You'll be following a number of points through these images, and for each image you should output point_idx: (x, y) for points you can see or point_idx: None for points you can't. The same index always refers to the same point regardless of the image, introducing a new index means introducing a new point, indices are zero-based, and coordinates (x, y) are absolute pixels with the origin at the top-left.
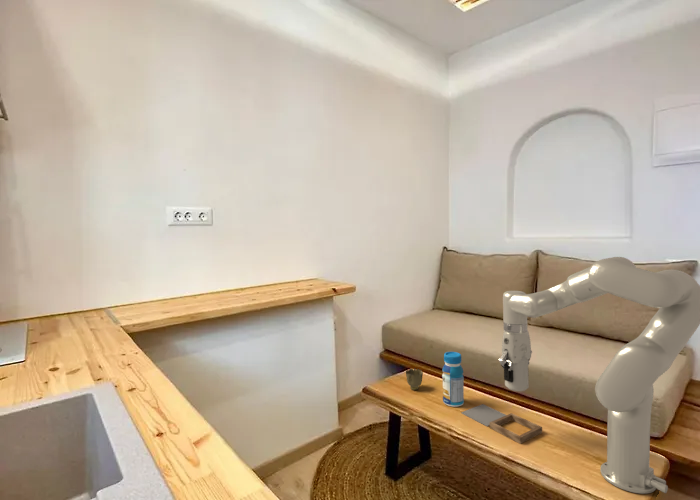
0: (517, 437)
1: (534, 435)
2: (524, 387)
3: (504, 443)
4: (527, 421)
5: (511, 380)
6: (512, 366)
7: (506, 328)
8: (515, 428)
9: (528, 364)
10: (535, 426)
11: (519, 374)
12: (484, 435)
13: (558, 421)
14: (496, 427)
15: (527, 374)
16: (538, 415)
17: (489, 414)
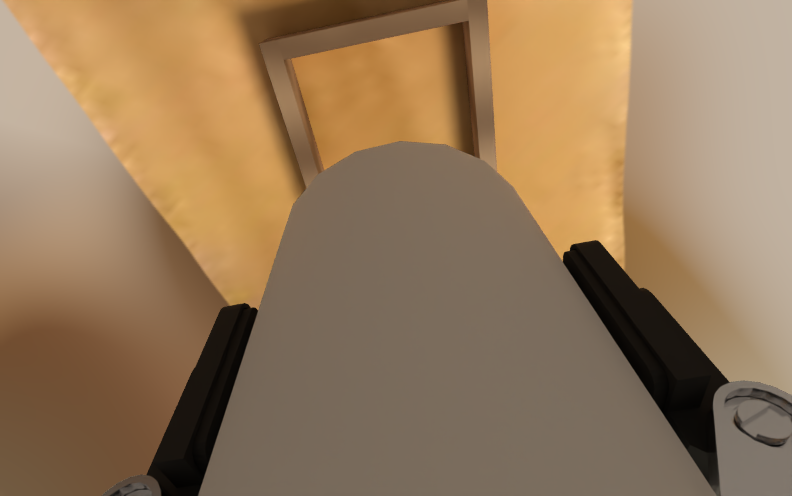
0: (486, 15)
1: (341, 23)
2: (419, 151)
3: (548, 38)
4: (300, 134)
5: (603, 262)
6: (730, 480)
7: None
8: (376, 138)
9: (128, 485)
10: (289, 75)
11: (549, 278)
12: (568, 145)
13: (84, 103)
14: (494, 159)
15: (339, 260)
16: (164, 195)
17: None
